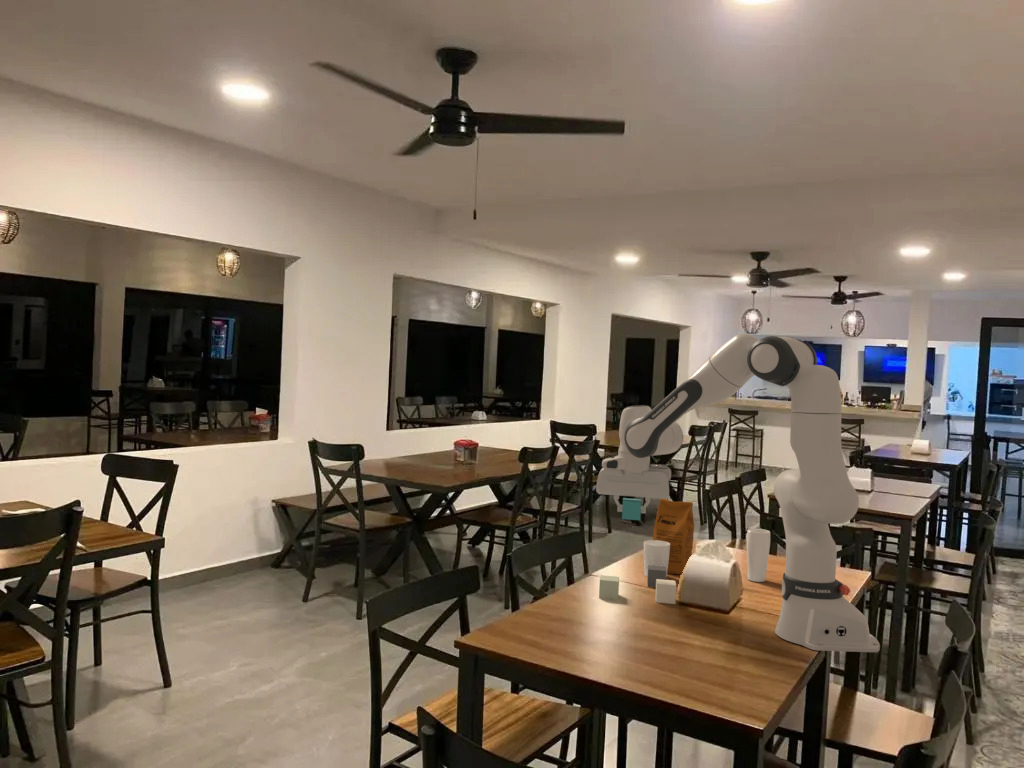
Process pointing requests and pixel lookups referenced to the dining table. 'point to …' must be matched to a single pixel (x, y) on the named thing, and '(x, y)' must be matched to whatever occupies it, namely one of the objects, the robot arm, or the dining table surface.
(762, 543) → the drinking glass
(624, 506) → the teal cube
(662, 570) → the charcoal cube
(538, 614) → the dining table surface
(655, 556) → the white cup
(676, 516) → the coffee package
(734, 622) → the dining table surface
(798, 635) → the robot arm
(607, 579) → the sage cube
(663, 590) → the cream cube
